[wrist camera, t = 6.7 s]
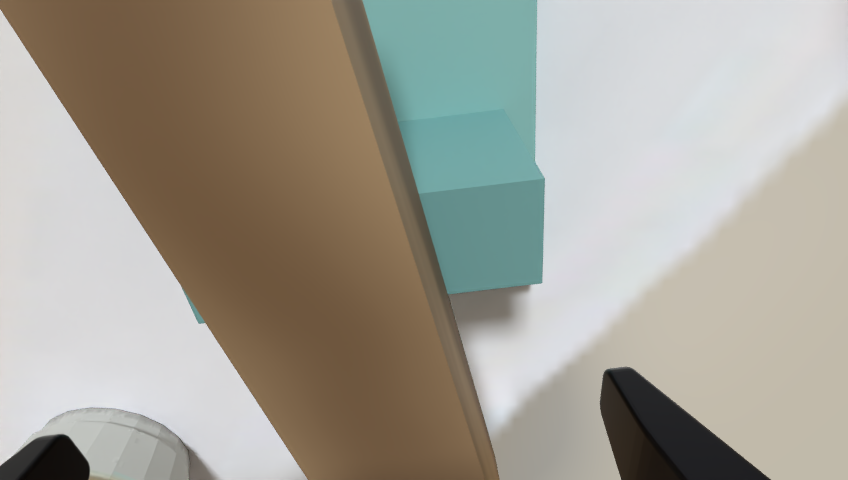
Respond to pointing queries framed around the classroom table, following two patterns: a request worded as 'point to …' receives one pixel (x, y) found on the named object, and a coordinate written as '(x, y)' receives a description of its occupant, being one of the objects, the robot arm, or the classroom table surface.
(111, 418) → the coffee cup
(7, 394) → the classroom table surface
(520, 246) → the fulcrum block
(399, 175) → the walnut bar
